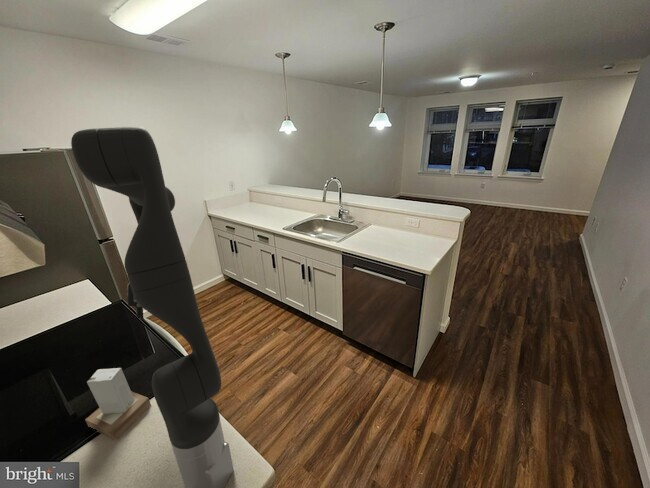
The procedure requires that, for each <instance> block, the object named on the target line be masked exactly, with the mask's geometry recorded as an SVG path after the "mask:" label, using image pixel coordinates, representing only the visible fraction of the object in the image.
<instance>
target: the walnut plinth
mask: <svg viewBox="0 0 650 488" xmlns="http://www.w3.org/2000/svg"><path fill="white" fill-rule="evenodd" d="M131 393H132V395H133V398H134V401H133V402H132V404H131V405H130V407H129V408H128V410H127V411H126V412H124V413H110V414H103V413H102V411H101V409H100V407H98V408H96V410H95V411H94V412H92V413H91V414H90V415H89V416H88V417H86V418H85V419H84V420H85V422H86V425H87V427H88V428H89V427H91V428H93V429H96V430H97V431H96V432H98V433H99V434H102V435H104V436H106V437H109V438H110V439H113V440H114V441H116V440H118V439H119V438H120V436H121V435H123V433H125V431H127V430H128V429H129V428H130V427H131V426H132V425H133V424H134V423H135V422H136V421H137V420H138V419H139V418H140V416H142V415H143V414H144V413H145V412H146V411H147V410H148V409H149V408H150V407H151V406H152V404H151V402H150V398H149V397H147V396H144V395H142V394H139V393H136V392H134V391H132V390H131ZM91 428H90V429H91ZM93 429H92V430H93Z"/></svg>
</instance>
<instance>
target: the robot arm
mask: <svg viewBox="0 0 650 488" xmlns="http://www.w3.org/2000/svg"><path fill="white" fill-rule="evenodd" d="M70 146H71V151H72V154H73V157H74V160H75V163H76V165H77V167H78V169H79V170H80V171H81V173H82V175H83V176H84V177H85V178H86V179H87V180H88V181H89V182H91V183H92V184H93V185H95V186H97V187H98V188H99V187H100V188H103V189H107V190H110V191H112V192H115V193H118V194H121V195H123V196H125V197H128V201H129V205H130V207H131V209H132V211H133V214H134V216H135V217H134V218H135V219H136V222H137V227H136V229H135V231H134V232H133V235H132V237H131V240H130V242H129V245H128V248H127V250H126V253H125V257H124V269H125V272H126V273H125V274H126V276H127V279H128V283H127V285H126V286H127V287H126V288H127V292H126V293H127V294H126V296H127V297H126V298H127V300H126V301H127V302H126V303H127V305H128V306H129V307H135V311H136V317H137V318H138V319H139V320H140V321H142V320H144V310H145V311H146V312H148V313H149V314H150V315H152V316H154V317H155V318H157V319H158V320H159V321H162V322H163V323H164V324H166V325H168V326H169V327H170V328H172V329H173V330H174V331H175V332H176V333H178V334H179V336H182V338H183V339H185V341H186V342H187V343H188V344H189V345H190V348H191V351H192V352H191V353H188V354H186V355H185V356H182V357H180V358H178V359H176V360H174V361H172V362H169V363H167V364H165V365H163V366H161V367H159V368H157V369H156V370H155V371H154V372H153V374H152V376H151V389H152V394H153V396H154V399H155V401H156V405H157V406H158V409H159V412H160V414H161V416H162V419H163V422H164V423H165V426H166V430H167V435H168V438H169V441H170V444H171V447H172V450H173V454H174V457H175V460H176V464H177V467H178V469H179V473H180V476H181V479H182V483H183V486H184V488H225V487H226V485H227V483H228V482H229V479H230V477H231V475H232V474H233V473H234V465H233V459H232V455H231V450H230V443H229V442H226V440H225V437H224V433H223V426H222V423H221V417H220V413H219V412H220V411H219V408H218V405H217V402H216V401H214V400H213V399H212V398H213V397H214V396H216V395H218V394H219V392H220V390H221V389H222V377H221V371H220V368H219V366H218V362H217V359H216V356H215V353H214V351H213V348H212V345H211V343H210V340H209V337H208V335H207V334H208V333H207V331H206V329H205V326H204V323H203V320H202V316H201V314H200V311H199V310H200V309H199V307H198V306H199V305H198V302H197V298H196V294H195V289H194V285H193V282H192V279H191V278H192V277H191V274H190V271H189V267H188V262H187V260H186V257H185V254H184V250H183V246H182V244H181V241H180V238H179V233H178V231H177V228H176V225H175V222H174V218H173V214H172V211H174V208H175V206H176V198H175V195H174V193H173V192H172V191H171V189H169V187H167V186H166V183H165V179H164V174H163V171H162V170H163V169H162V166H161V160H160V156H159V152H158V149H157V146H156V144H155V141H154V139H153V137H152V135H151V134H150V132H149V131H148V130H147V129H146V128H144V127H142V126H121V127H118V126H116V127H101V128H99V127H96V128H88V129H87V128H86V129H82V130H78V131H76V132H75V133H73V135H72V137H71V142H70Z"/></svg>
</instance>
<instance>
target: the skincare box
mask: <svg viewBox="0 0 650 488" xmlns="http://www.w3.org/2000/svg"><path fill="white" fill-rule="evenodd" d="M86 383H87V385H88V387H89V389H90V391H91V393H92V396H93V398H94V399H95V402H96V404H97V406H98V408H100V409H101V411H102V413H103V414H110V413H124V412H126V411H127V410H128V408H129V407H130V405H131V404H132V402H133V401H134V398H133V395H132V393H131V391H132V390H131V388H130V386H129V383H128V381H127V379H126V376H125V374H124V372H123V368H122V367H117V368H116V367H113V368H100V369H97V370H96V371H95V372H94V373H93V374H92V376H91V377H90V378H89V379H88V380H87V381H86Z"/></svg>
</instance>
